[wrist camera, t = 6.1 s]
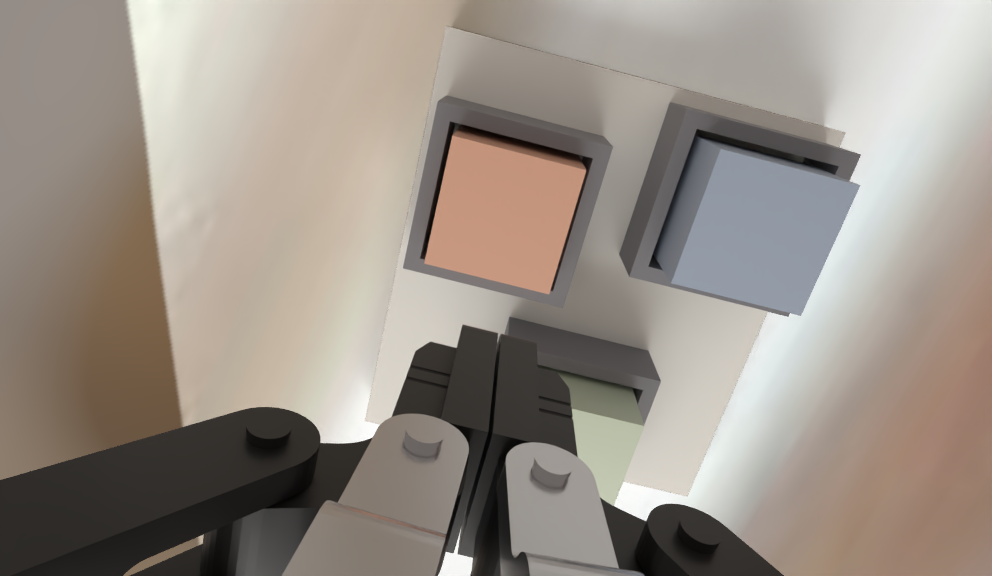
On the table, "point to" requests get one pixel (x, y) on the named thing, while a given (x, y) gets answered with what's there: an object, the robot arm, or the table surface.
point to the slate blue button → (751, 225)
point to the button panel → (593, 242)
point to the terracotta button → (504, 208)
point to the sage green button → (604, 428)
